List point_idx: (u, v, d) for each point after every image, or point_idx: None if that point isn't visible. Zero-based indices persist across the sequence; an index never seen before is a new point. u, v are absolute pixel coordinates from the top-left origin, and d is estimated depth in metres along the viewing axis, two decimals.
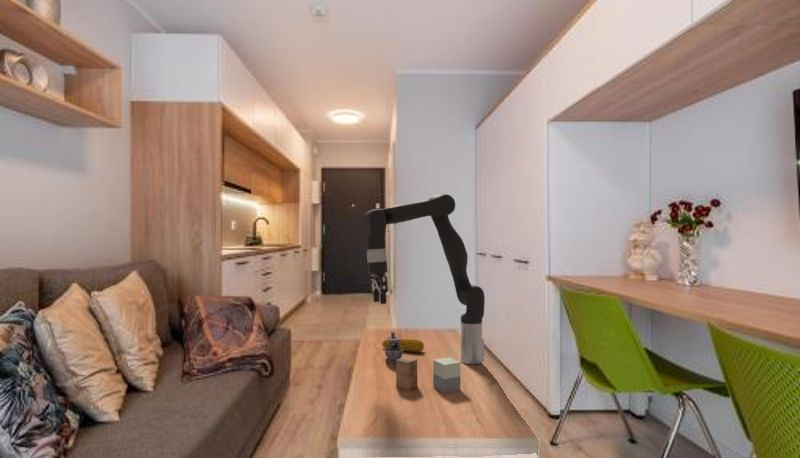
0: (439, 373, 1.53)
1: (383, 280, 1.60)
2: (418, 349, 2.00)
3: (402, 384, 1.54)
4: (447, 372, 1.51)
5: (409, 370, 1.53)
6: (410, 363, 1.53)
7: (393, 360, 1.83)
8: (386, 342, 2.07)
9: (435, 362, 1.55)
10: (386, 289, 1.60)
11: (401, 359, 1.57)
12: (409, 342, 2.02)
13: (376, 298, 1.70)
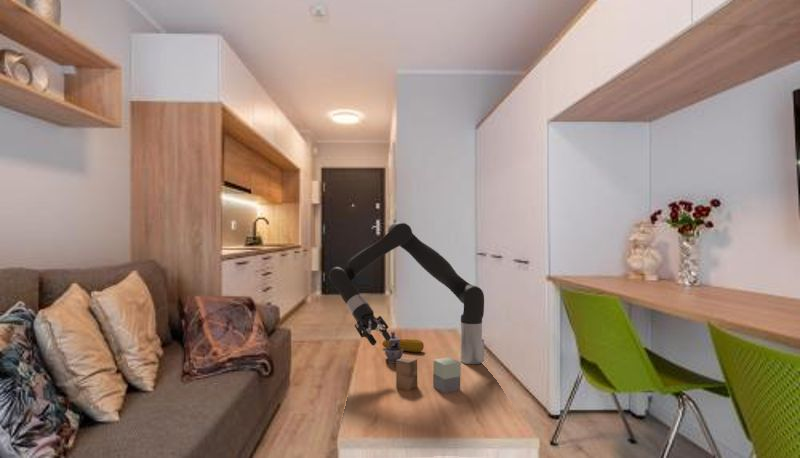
0: (440, 373, 1.53)
1: (356, 326, 1.62)
2: (418, 349, 2.00)
3: (402, 384, 1.54)
4: (448, 372, 1.51)
5: (409, 370, 1.53)
6: (410, 363, 1.53)
7: (393, 360, 1.83)
8: (386, 342, 2.07)
9: (435, 362, 1.55)
10: None
11: (401, 359, 1.57)
12: (409, 342, 2.02)
13: (386, 337, 1.67)
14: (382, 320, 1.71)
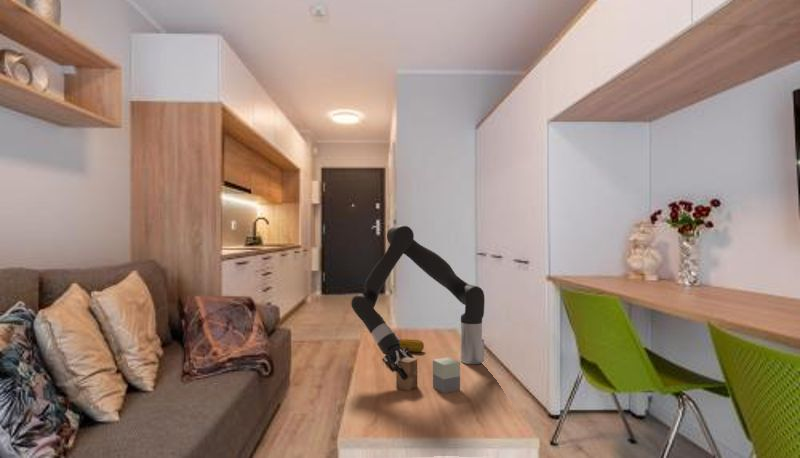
0: (439, 373, 1.53)
1: (385, 360, 1.54)
2: (418, 349, 2.00)
3: (402, 384, 1.54)
4: (447, 372, 1.51)
5: (409, 370, 1.53)
6: (410, 363, 1.53)
7: None
8: None
9: (434, 362, 1.55)
10: (394, 366, 1.53)
11: (401, 359, 1.57)
12: (409, 342, 2.03)
13: None
14: (409, 352, 1.63)
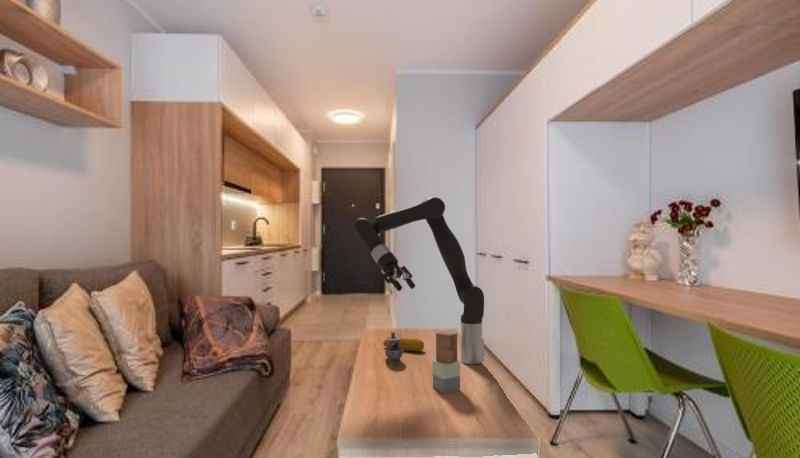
0: (439, 373, 1.52)
1: (382, 272, 1.64)
2: (418, 348, 2.01)
3: (443, 357, 1.53)
4: (447, 372, 1.51)
5: (450, 343, 1.52)
6: (451, 336, 1.52)
7: (393, 360, 1.83)
8: (387, 341, 2.09)
9: (434, 362, 1.55)
10: None
11: (441, 333, 1.55)
12: (409, 341, 2.03)
13: (411, 285, 1.69)
14: (406, 269, 1.74)
